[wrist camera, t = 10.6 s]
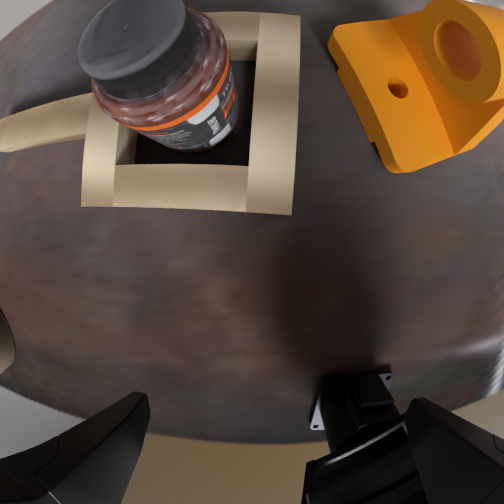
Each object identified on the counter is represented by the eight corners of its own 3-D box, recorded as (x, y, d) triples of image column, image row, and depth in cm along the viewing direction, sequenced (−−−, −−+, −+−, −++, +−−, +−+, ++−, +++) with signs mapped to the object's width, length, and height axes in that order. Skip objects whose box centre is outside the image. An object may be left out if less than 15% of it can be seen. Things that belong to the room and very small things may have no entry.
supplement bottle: (252, 138, 17) (243, 64, 6) (166, 167, 18) (60, 144, 7) (226, 63, 16) (196, -48, 5) (146, 92, 17) (53, 20, 6)
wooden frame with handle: (285, 211, 18) (291, 215, 15) (7, 205, 19) (-14, 208, 16) (295, 37, 16) (300, 15, 13) (24, 74, 16) (5, 67, 13)
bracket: (320, 44, 16) (371, -68, 4) (395, 32, 15) (472, -44, 3) (383, 177, 18) (513, 172, 6) (452, 151, 17) (570, 140, 5)
